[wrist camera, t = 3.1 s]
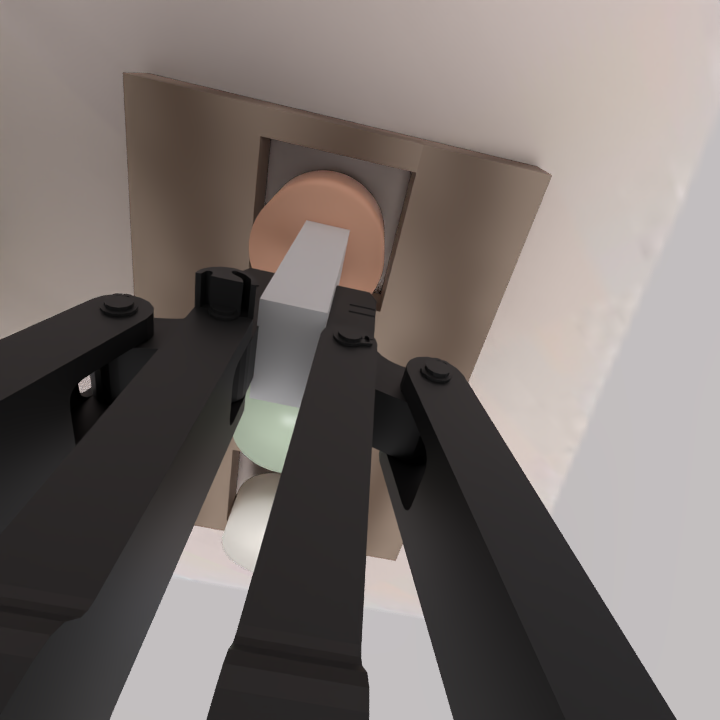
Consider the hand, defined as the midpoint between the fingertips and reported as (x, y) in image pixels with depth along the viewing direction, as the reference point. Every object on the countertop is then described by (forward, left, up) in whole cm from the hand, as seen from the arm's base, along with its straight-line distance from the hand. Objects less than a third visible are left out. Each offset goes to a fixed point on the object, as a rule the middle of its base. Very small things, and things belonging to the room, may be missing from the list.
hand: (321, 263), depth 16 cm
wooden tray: (0, -8, -5) cm, 10 cm away
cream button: (0, -16, -3) cm, 16 cm away
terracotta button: (0, 0, -3) cm, 3 cm away
